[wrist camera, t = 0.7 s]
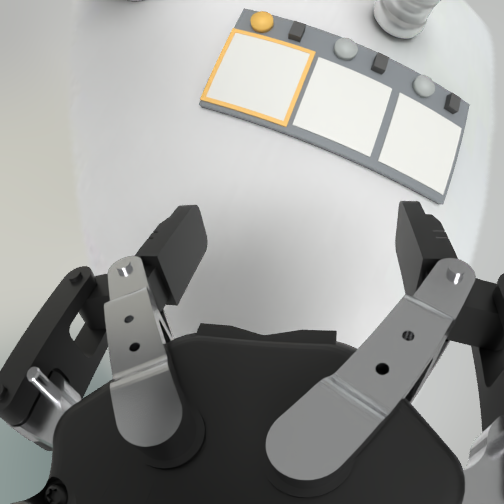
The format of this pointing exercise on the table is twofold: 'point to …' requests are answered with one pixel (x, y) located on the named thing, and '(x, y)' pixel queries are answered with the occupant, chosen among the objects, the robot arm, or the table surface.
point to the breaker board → (339, 100)
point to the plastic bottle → (403, 16)
